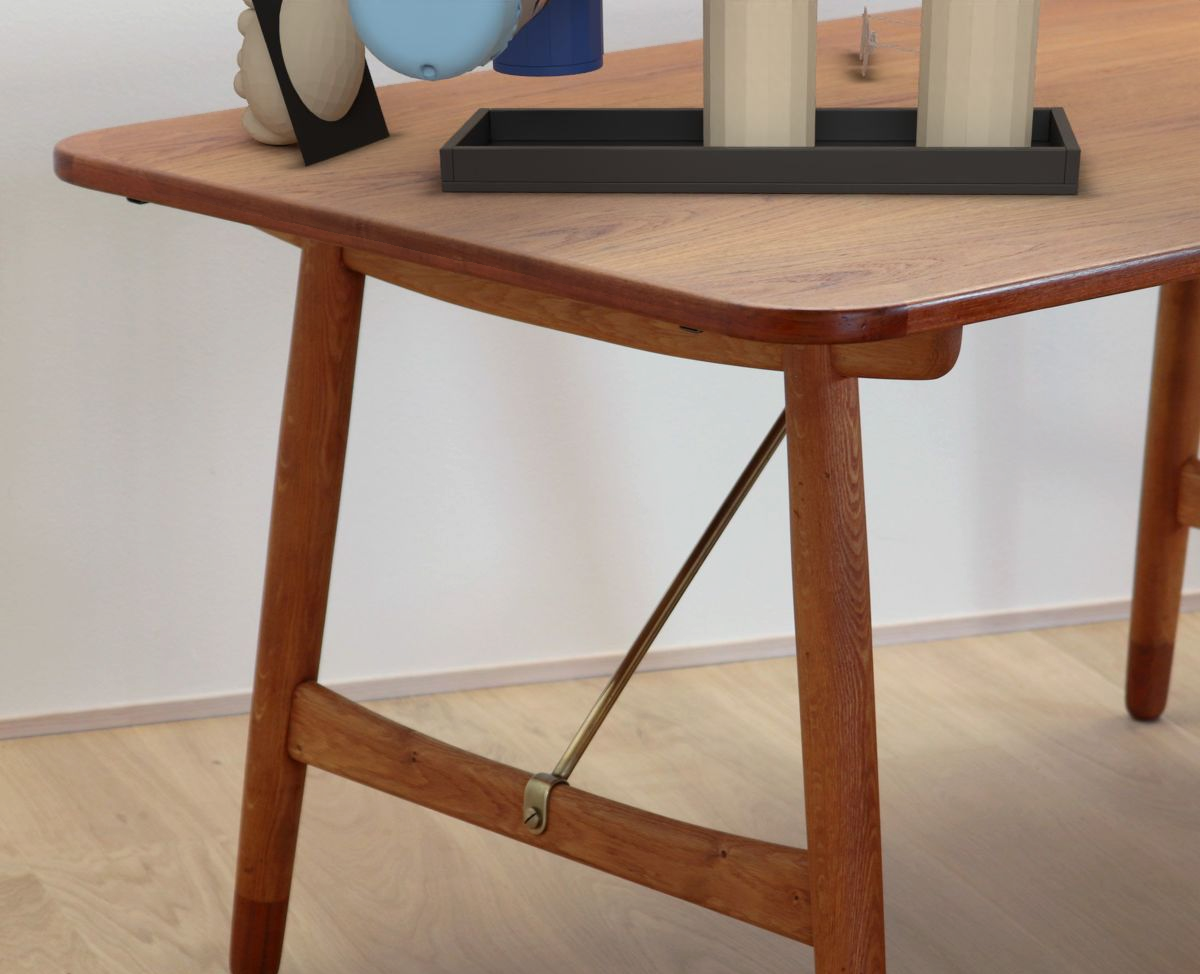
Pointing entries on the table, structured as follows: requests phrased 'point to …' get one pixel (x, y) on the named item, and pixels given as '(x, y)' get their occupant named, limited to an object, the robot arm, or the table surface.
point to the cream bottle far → (977, 73)
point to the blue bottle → (557, 42)
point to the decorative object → (306, 78)
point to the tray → (743, 155)
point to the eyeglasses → (874, 39)
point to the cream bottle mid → (759, 73)
